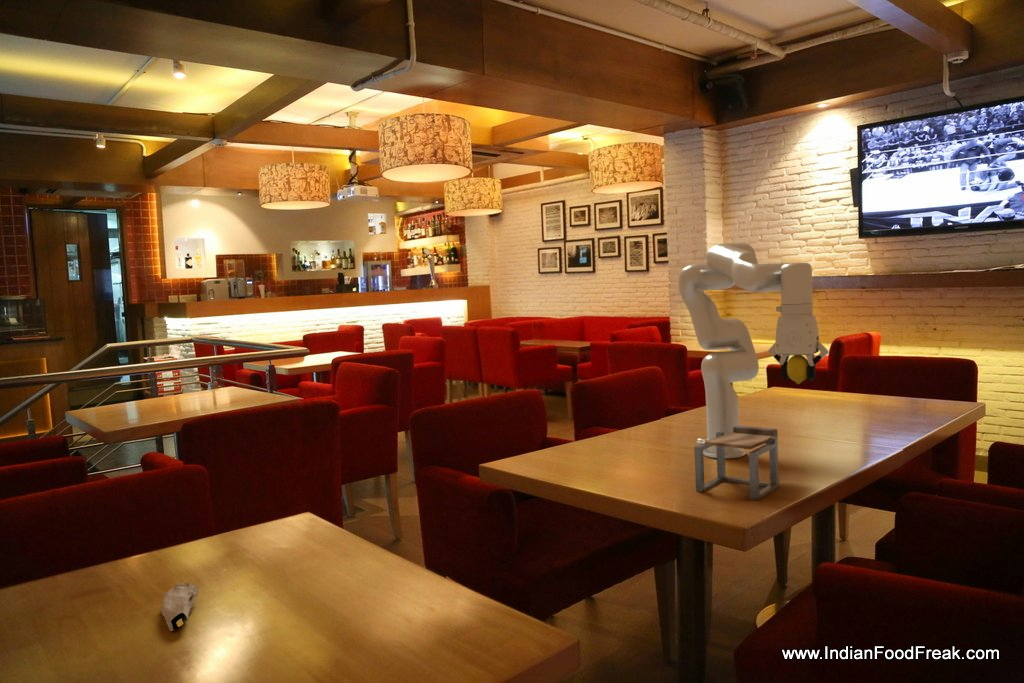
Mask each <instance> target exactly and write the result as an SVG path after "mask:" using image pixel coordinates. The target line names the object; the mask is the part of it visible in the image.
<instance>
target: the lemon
mask: <svg viewBox="0 0 1024 683" xmlns="http://www.w3.org/2000/svg"><path fill="white" fill-rule="evenodd" d="M807 366H809V363H808V360H807V358H806V356H805V355H791V357H789V359H788V363H787V374H788V376H789V378H790V379H791V380H792V381H793V382H795V383H796V384H797V385H800V384H801V383H802V382H804V381H805V380H807ZM790 379H789V380H790ZM791 380H790V381H791Z"/></svg>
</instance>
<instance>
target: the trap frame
mask: <svg viewBox="0 0 1024 683" xmlns="http://www.w3.org/2000/svg"><path fill="white" fill-rule="evenodd" d="M722 435H724V433H723V432H718V433H716V437H719V436H722ZM778 440H779V439H778ZM778 440H777V437H770V438H769V443H767V444H762V445H760V447H759V446H758V448H757V447H756V448H754V449H753V450H751V451H750V452H748V460H749V462H748V468H749V479H746V478H742V477H741V478H739V477H733V476H727V472H726V459H725V447H723V446H716V449H717V458H716V468H717V469H716V470H717V471H716V472H717V477H715V478H713V479H711V480H710V481H709V480H708V482H706V483H705V465H704V463H705V462H704V455H703V450H704V449H707V448H709V447H711V446H713V445H705V443H702V444H700V445H698V446H697V445H695V446H694V467H695V468H694V469H695V470H694V474H695V491H696V492H697V491H700V492H699V493H703V492H705V491H707V490H709V489H711V488H713V487H714V485H715V486H716V485H718V484H720V483H722V482H730V483H736V482H737V484H743V483H745V485H749V490H750V491H749V495H750V496H749V497H750V500H751V501H756V500H757V501H759V500H760V499H762V498H763V497H765V496H766V494H767V495H768V494H770V493H771V492H773V491H774V490H776V489H778V488H779V487H780V479H779V477H780V476H779V448H778V447H779V446H778V444H779V442H778ZM768 451H769V452H768ZM765 453H768V455H769V456H768V457H769V481H762V480H760V476H759V475H760V474H759V471H760V470H759V469H760V468H759V456H761V455H763V454H765ZM712 486H713V487H712ZM765 486H767V487H765ZM778 486H779V487H778ZM710 487H711V488H710ZM760 487H763V488H762V489H760ZM777 487H778V488H777ZM708 488H709V489H708ZM775 488H776V489H775ZM706 489H707V490H706ZM704 490H705V491H704ZM772 490H773V491H772ZM702 491H703V492H702ZM769 492H770V493H769ZM761 497H762V498H761ZM758 499H759V500H758Z"/></svg>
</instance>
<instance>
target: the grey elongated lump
mask: <svg viewBox="0 0 1024 683" xmlns="http://www.w3.org/2000/svg"><path fill="white" fill-rule="evenodd" d="M198 593H199V587H198V586H197V585H196V584H191V583H189V582H186V583H177V584H175V585H174V586H173V587H171V589H169V590H168V591H166V592H165V593H164V594H163V599H162V600H163V601H161V609H162V610H161V614H162V615H163V616H164V617H165V619H164V620H166V621H165V622H166V625H167V628H168V629H169V631H170V630H174V628H173V624H172V620H173V619H174V618H176V617H177V616H178V615H180V614H184V615H186V616H181V617H182V621H183V623H184V625H185V624H186V622H187V621H189V615H190V614H191V612H192V611H191V609H192V608H193V607H194V605H195V603H196V597H197V596H198V595H199V594H198ZM162 615H161V616H162ZM163 616H162V617H163ZM164 617H163V618H164Z"/></svg>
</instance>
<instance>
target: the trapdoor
mask: <svg viewBox="0 0 1024 683" xmlns="http://www.w3.org/2000/svg"><path fill="white" fill-rule="evenodd" d="M770 437H777V440H779V439H778V438H779V436H778V428H770V427H757V426H745V425H739V426H735V427H733V432H731V433H728V434H725V435H722V436H719V437H716V438H713V439H711V440H708V441H705V445H713V446H723V447H732V448H742V449H744V450H752V449H756V448H757V447H759V446H760V447H761V446H763V445H765V444H767V443H769V438H770Z"/></svg>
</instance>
